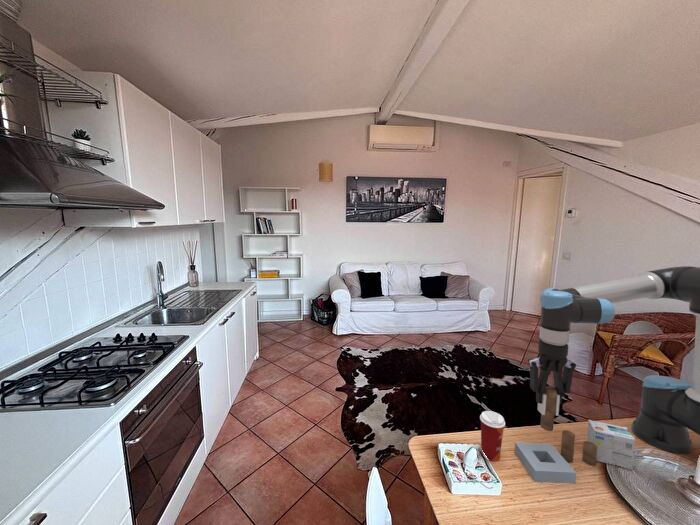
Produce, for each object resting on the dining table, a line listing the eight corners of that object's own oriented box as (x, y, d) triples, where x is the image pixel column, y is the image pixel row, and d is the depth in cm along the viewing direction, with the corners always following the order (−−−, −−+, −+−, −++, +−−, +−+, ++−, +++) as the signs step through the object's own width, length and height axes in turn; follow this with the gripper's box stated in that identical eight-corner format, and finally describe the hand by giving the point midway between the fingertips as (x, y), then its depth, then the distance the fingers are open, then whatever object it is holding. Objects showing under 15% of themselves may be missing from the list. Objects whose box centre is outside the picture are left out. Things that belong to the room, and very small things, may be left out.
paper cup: (506, 465, 95) (508, 425, 93) (481, 462, 96) (483, 422, 95) (499, 448, 102) (501, 410, 101) (475, 445, 104) (477, 408, 102)
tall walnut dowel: (548, 424, 94) (551, 386, 93) (555, 431, 91) (558, 391, 90) (538, 423, 94) (540, 385, 93) (544, 430, 91) (547, 391, 90)
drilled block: (550, 453, 100) (551, 444, 100) (575, 483, 88) (576, 472, 88) (514, 451, 101) (515, 442, 100) (534, 481, 89) (535, 470, 88)
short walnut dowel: (590, 458, 98) (592, 441, 97) (598, 466, 95) (600, 449, 94) (580, 457, 98) (581, 441, 98) (587, 465, 95) (589, 448, 94)
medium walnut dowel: (568, 455, 99) (570, 430, 98) (575, 462, 96) (577, 437, 95) (558, 454, 99) (560, 429, 99) (564, 462, 96) (566, 436, 95)
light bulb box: (624, 456, 99) (627, 426, 98) (633, 471, 93) (636, 439, 92) (585, 446, 103) (587, 418, 102) (591, 460, 97) (594, 430, 96)
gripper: (572, 337, 93) (566, 406, 96) (519, 336, 94) (515, 404, 96) (590, 346, 86) (583, 421, 88) (533, 345, 87) (527, 419, 89)
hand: (547, 412), depth 92 cm, fingers closed on tall walnut dowel, 3 cm apart
